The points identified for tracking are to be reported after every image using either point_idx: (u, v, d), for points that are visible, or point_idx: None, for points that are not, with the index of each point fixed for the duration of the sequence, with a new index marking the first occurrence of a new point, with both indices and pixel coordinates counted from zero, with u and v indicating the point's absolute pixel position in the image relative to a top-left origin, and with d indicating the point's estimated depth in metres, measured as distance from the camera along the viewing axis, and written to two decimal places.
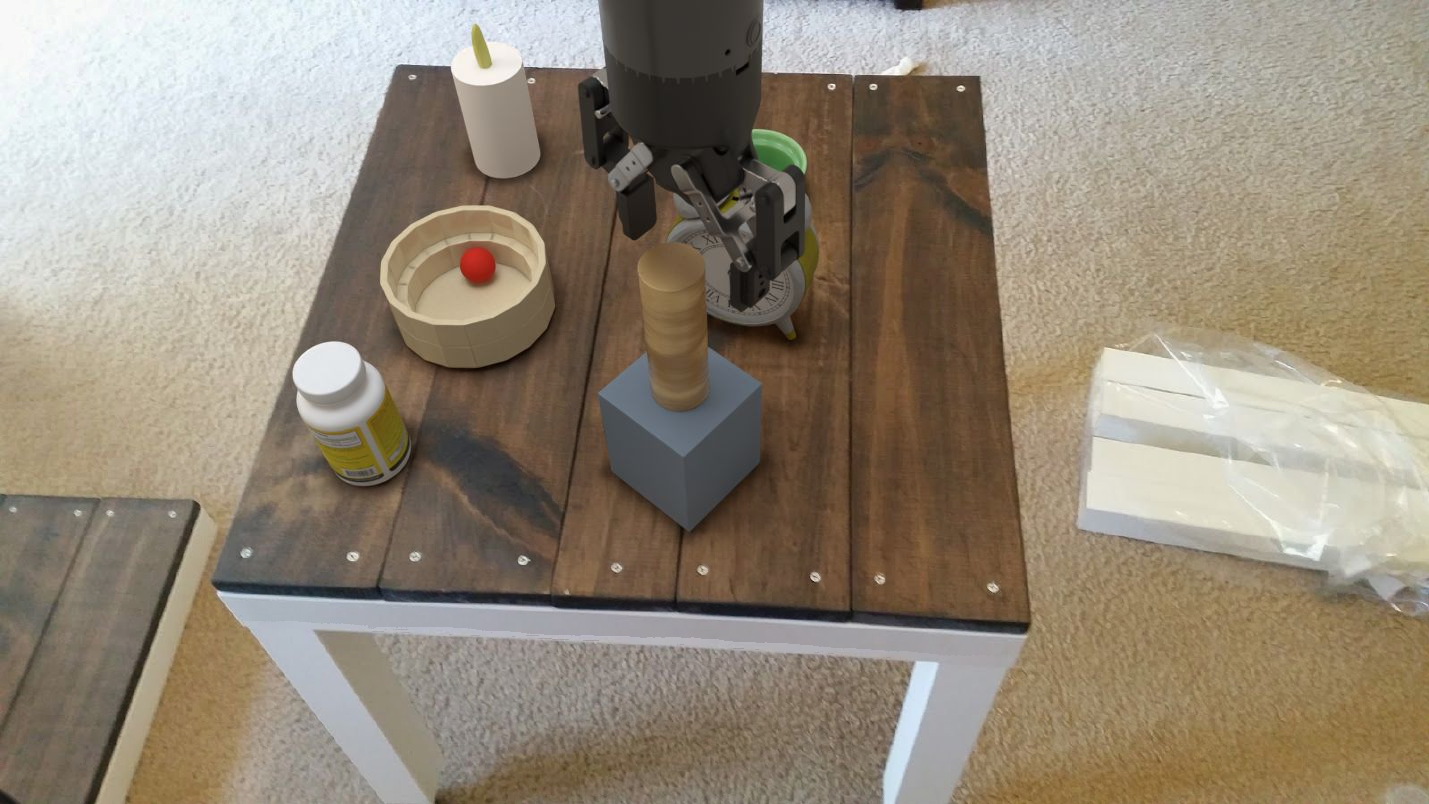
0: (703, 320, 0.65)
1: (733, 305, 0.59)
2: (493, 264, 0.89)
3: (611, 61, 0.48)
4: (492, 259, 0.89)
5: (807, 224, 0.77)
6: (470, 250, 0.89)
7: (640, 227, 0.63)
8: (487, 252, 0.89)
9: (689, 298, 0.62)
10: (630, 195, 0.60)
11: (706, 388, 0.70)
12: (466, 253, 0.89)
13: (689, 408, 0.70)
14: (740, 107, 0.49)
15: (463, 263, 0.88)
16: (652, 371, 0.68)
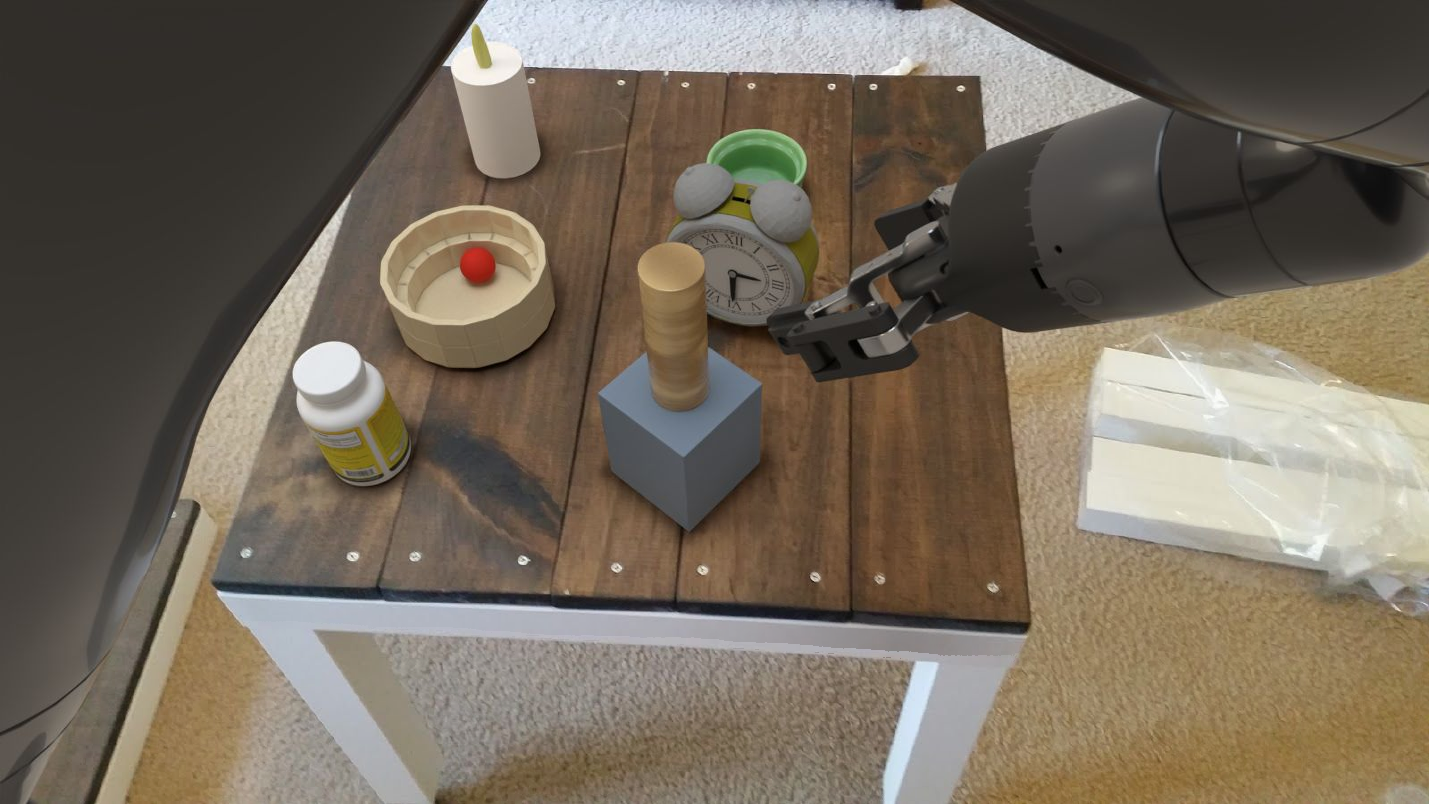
0: (703, 320, 0.65)
1: (774, 311, 0.49)
2: (493, 264, 0.89)
3: None
4: (492, 259, 0.89)
5: (807, 224, 0.77)
6: (470, 250, 0.89)
7: (888, 231, 0.53)
8: (487, 252, 0.89)
9: (689, 298, 0.62)
10: (923, 211, 0.50)
11: (706, 388, 0.70)
12: (466, 253, 0.89)
13: (689, 408, 0.70)
14: (993, 284, 0.39)
15: (463, 263, 0.88)
16: (652, 371, 0.68)
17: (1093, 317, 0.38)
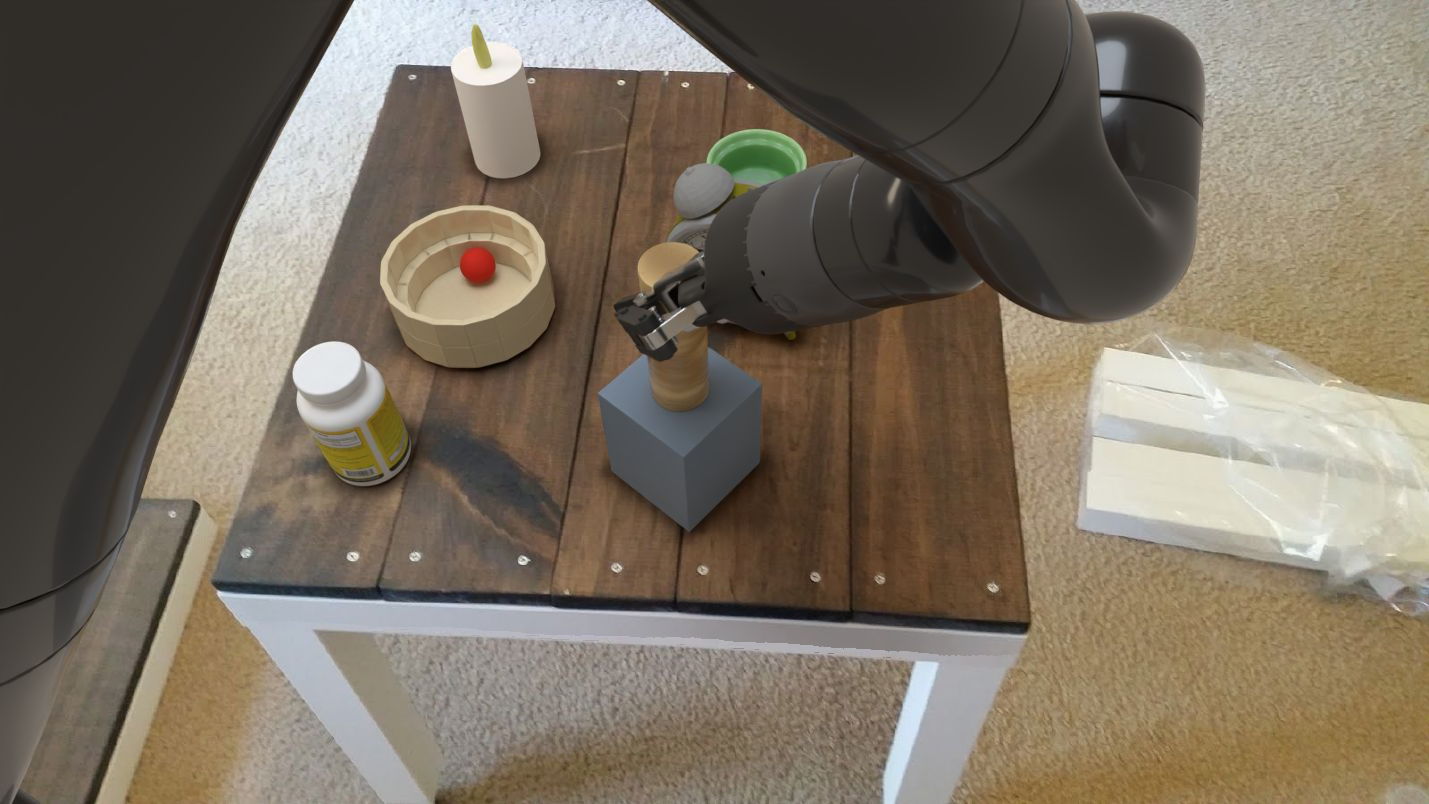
0: None
1: None
2: (493, 264, 0.89)
3: None
4: (492, 259, 0.89)
5: None
6: (470, 250, 0.89)
7: None
8: (487, 252, 0.89)
9: None
10: None
11: (706, 388, 0.70)
12: (466, 253, 0.89)
13: (689, 408, 0.70)
14: (731, 298, 0.52)
15: (463, 263, 0.88)
16: (652, 371, 0.68)
17: (799, 323, 0.51)
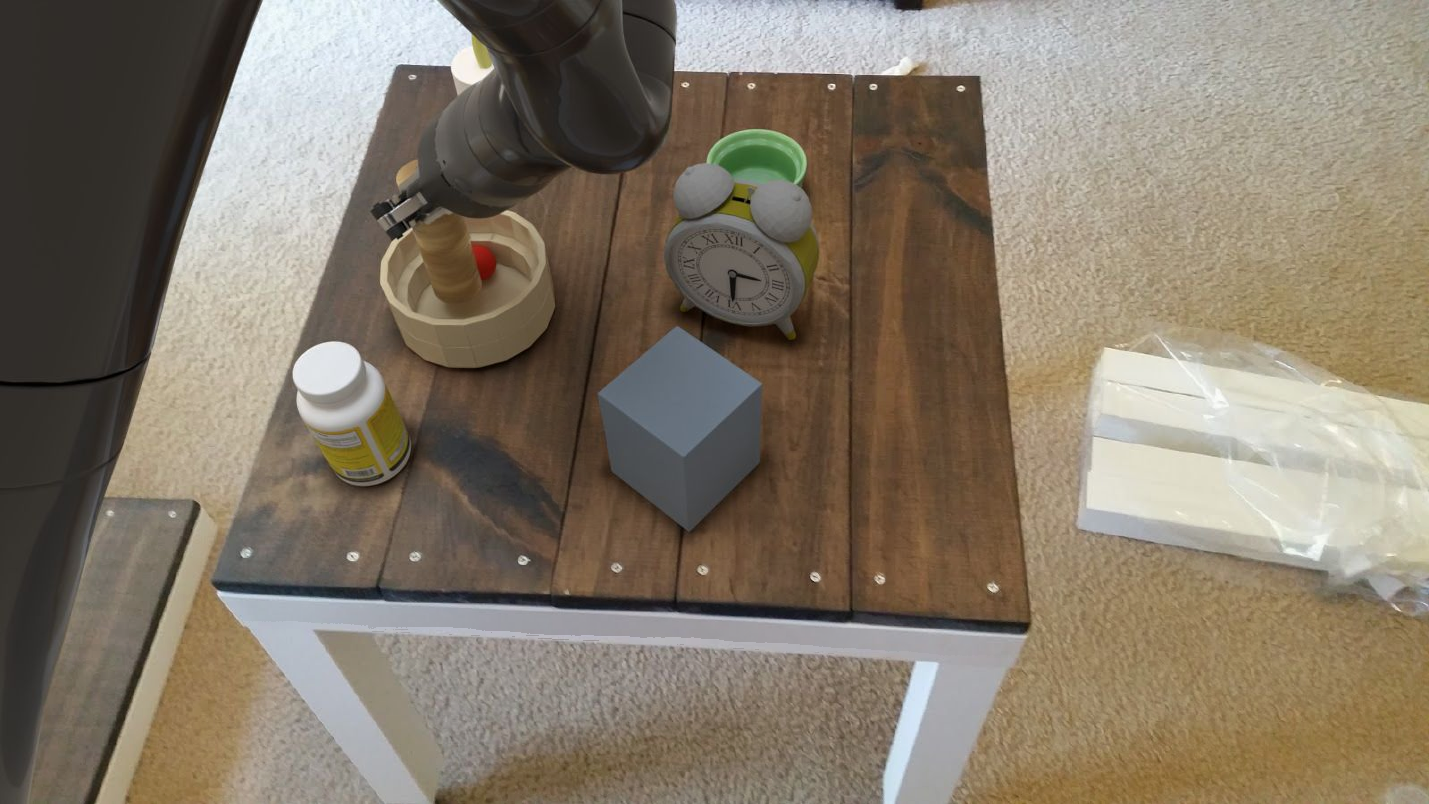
0: (456, 222, 0.80)
1: None
2: (493, 262, 0.89)
3: None
4: (493, 257, 0.89)
5: (807, 224, 0.77)
6: None
7: None
8: (488, 250, 0.89)
9: None
10: None
11: (475, 285, 0.86)
12: None
13: (461, 301, 0.86)
14: (434, 186, 0.68)
15: None
16: (426, 268, 0.84)
17: (480, 202, 0.67)
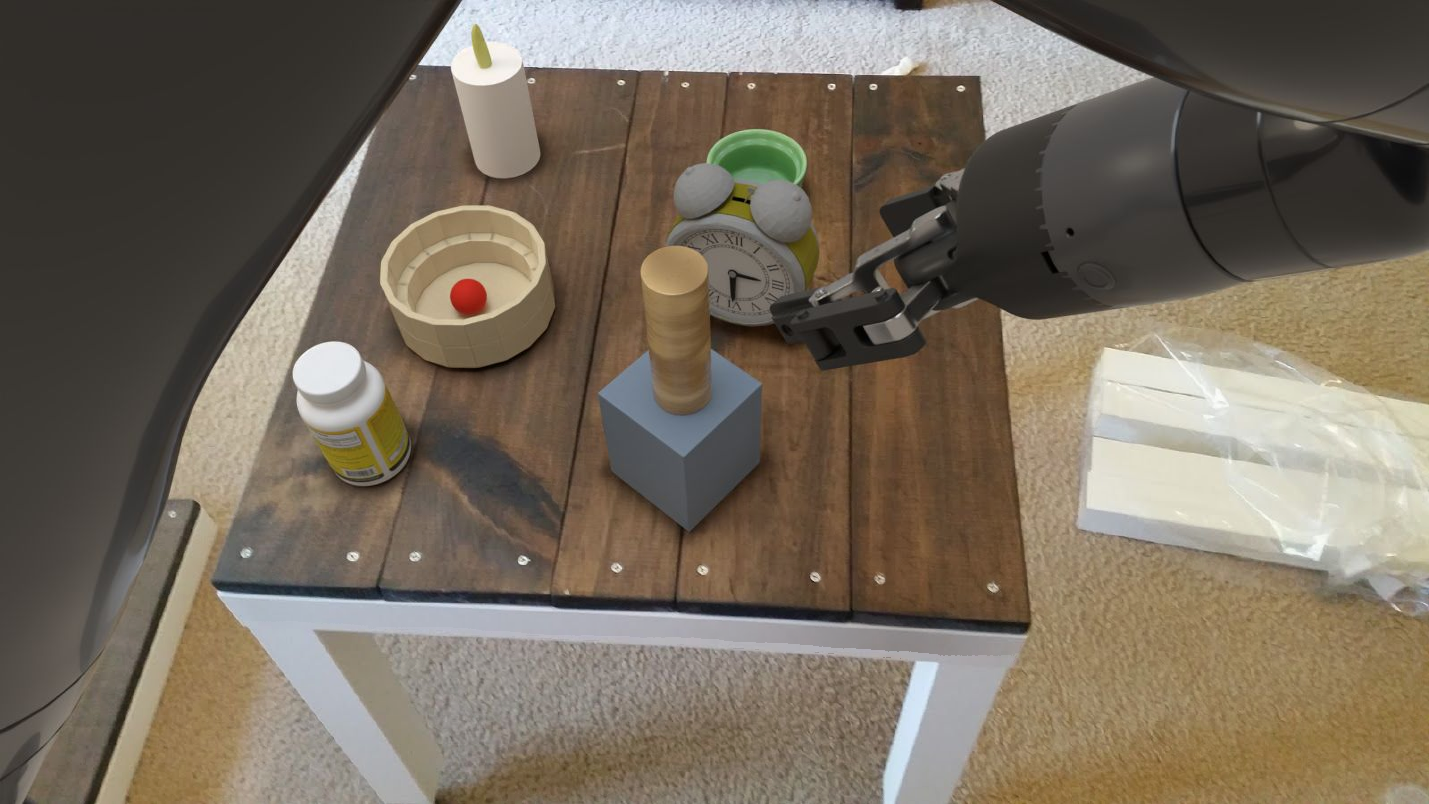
0: (706, 324, 0.64)
1: (778, 299, 0.48)
2: None
3: None
4: (485, 292, 0.87)
5: (807, 224, 0.77)
6: (474, 313, 0.87)
7: (893, 219, 0.52)
8: (483, 300, 0.87)
9: (692, 302, 0.61)
10: (929, 197, 0.49)
11: (709, 392, 0.70)
12: (471, 314, 0.88)
13: (691, 412, 0.70)
14: (1002, 269, 0.38)
15: None
16: (654, 374, 0.68)
17: (1105, 302, 0.37)
